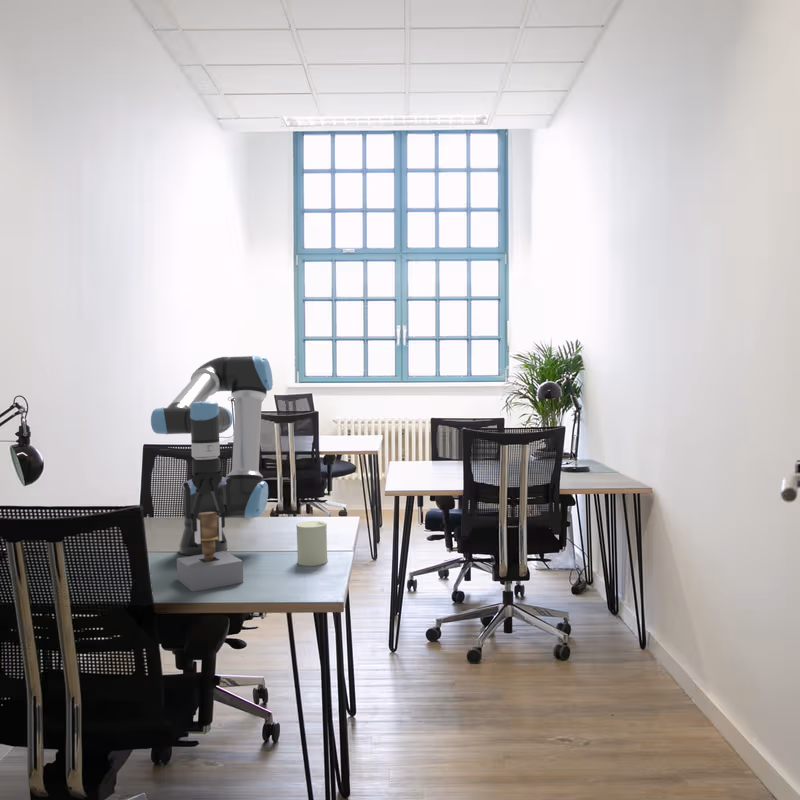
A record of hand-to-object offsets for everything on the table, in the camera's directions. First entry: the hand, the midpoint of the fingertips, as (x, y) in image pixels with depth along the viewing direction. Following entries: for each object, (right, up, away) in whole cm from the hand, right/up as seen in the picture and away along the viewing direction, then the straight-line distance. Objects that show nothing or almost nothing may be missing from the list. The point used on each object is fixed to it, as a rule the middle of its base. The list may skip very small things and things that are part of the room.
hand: (208, 541), depth 203 cm
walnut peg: (0, -5, 0) cm, 5 cm away
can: (+26, -10, +19) cm, 34 cm away
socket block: (0, -11, +1) cm, 11 cm away
